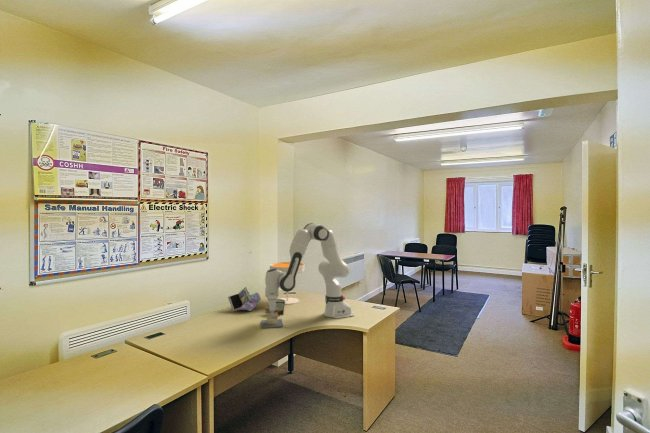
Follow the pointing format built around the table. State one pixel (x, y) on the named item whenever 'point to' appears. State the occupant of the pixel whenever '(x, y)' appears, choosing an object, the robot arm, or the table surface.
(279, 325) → the mat
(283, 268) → the orange pedestal table
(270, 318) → the tall wooden block
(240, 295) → the pastel lumpy piece
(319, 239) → the robot arm
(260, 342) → the table surface
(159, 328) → the table surface
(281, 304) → the half chocolate cake
